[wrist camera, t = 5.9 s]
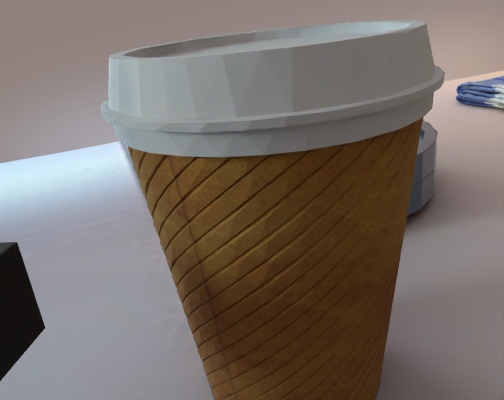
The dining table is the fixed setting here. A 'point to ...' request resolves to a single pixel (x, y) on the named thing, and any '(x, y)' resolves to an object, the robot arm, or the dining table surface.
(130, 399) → the dining table surface
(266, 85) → the disposable coffee cup
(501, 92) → the dish towel
